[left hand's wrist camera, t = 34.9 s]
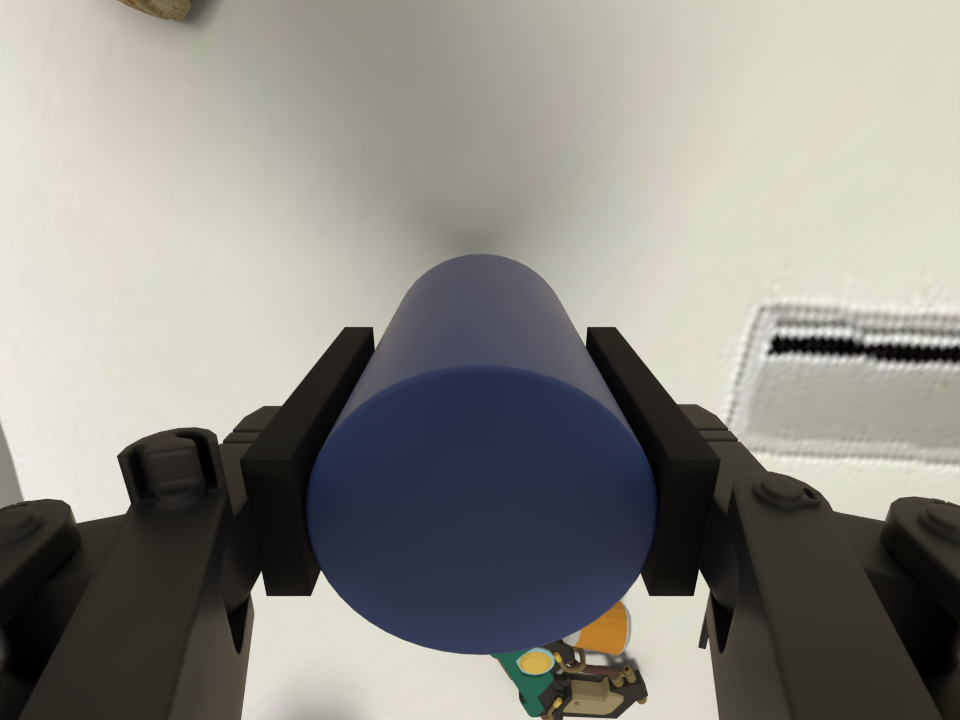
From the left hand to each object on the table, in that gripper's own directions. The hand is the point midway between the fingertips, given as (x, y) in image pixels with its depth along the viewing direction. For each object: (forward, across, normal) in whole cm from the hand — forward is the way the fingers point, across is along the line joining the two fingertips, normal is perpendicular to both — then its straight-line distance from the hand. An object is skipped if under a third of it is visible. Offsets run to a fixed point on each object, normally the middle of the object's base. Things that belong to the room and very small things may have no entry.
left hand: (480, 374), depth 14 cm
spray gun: (+22, +7, -37) cm, 43 cm away
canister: (+3, 0, 0) cm, 3 cm away
